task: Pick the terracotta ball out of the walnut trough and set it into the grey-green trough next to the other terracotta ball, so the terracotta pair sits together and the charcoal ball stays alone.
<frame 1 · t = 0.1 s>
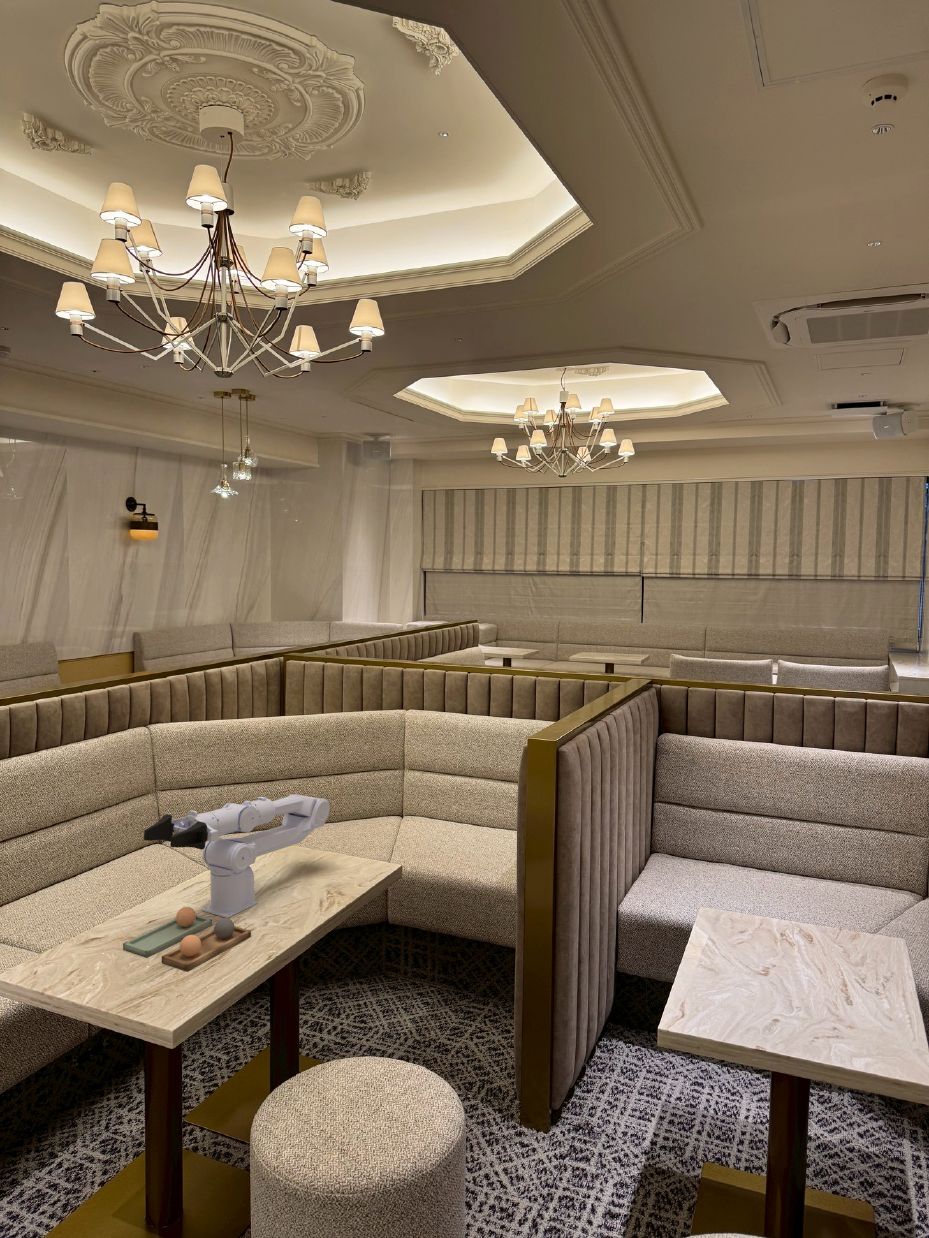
hand: (158, 838, 164), 21 cm above the table, tool horizontal, fingers open, 7 cm apart
trough green: (169, 936, 168), on the table
trough walnut: (207, 948, 162), on the table
terracotta ball b: (185, 916, 171), point 2 cm above the table, touching trough green
charcoal ball: (224, 928, 166), point 2 cm above the table, touching trough walnut
terracotta ball a: (190, 945, 158), point 2 cm above the table, touching trough walnut
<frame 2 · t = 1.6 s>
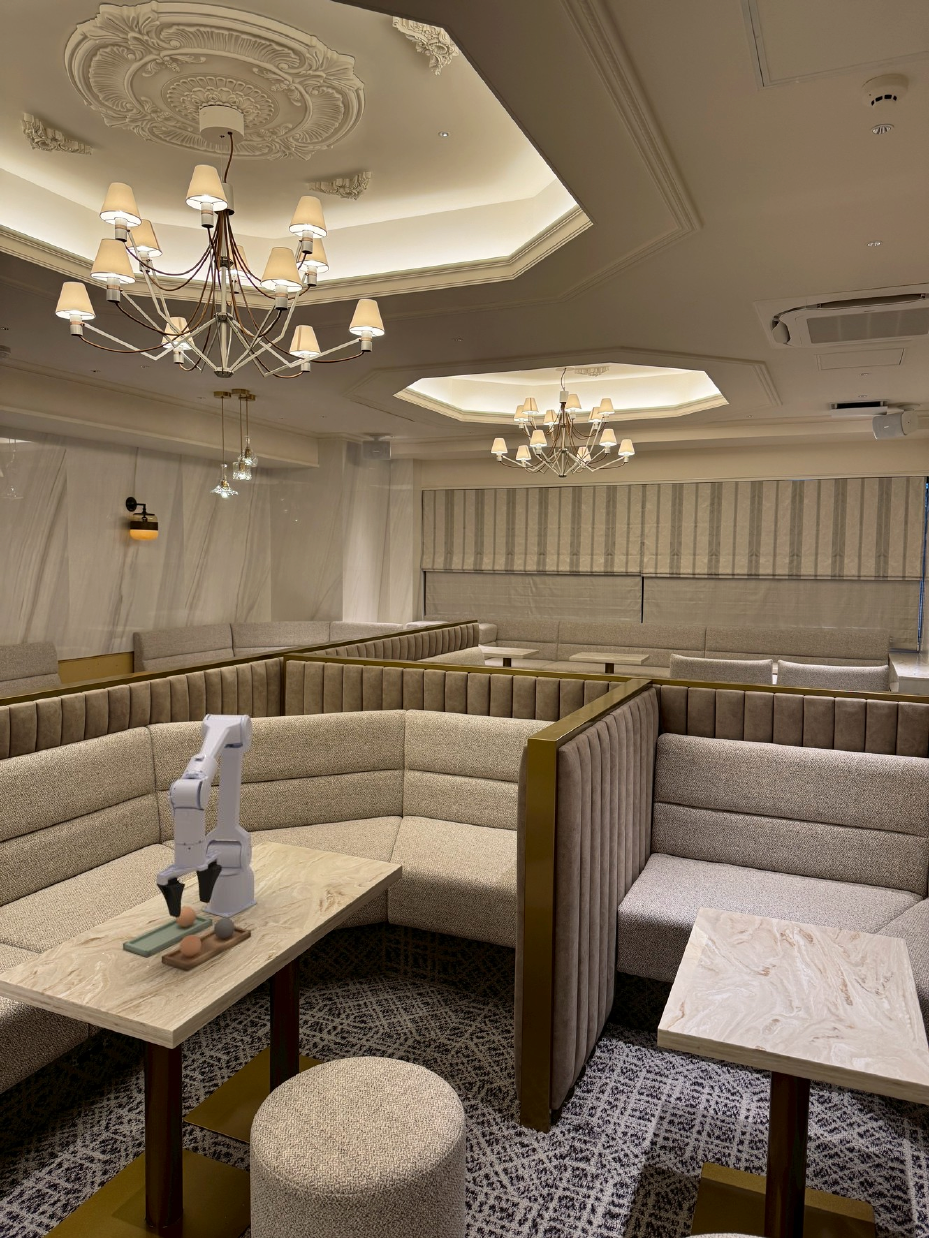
hand: (190, 908, 158), 10 cm above the table, tool pointing down, fingers open, 7 cm apart
nothing on the table moved.
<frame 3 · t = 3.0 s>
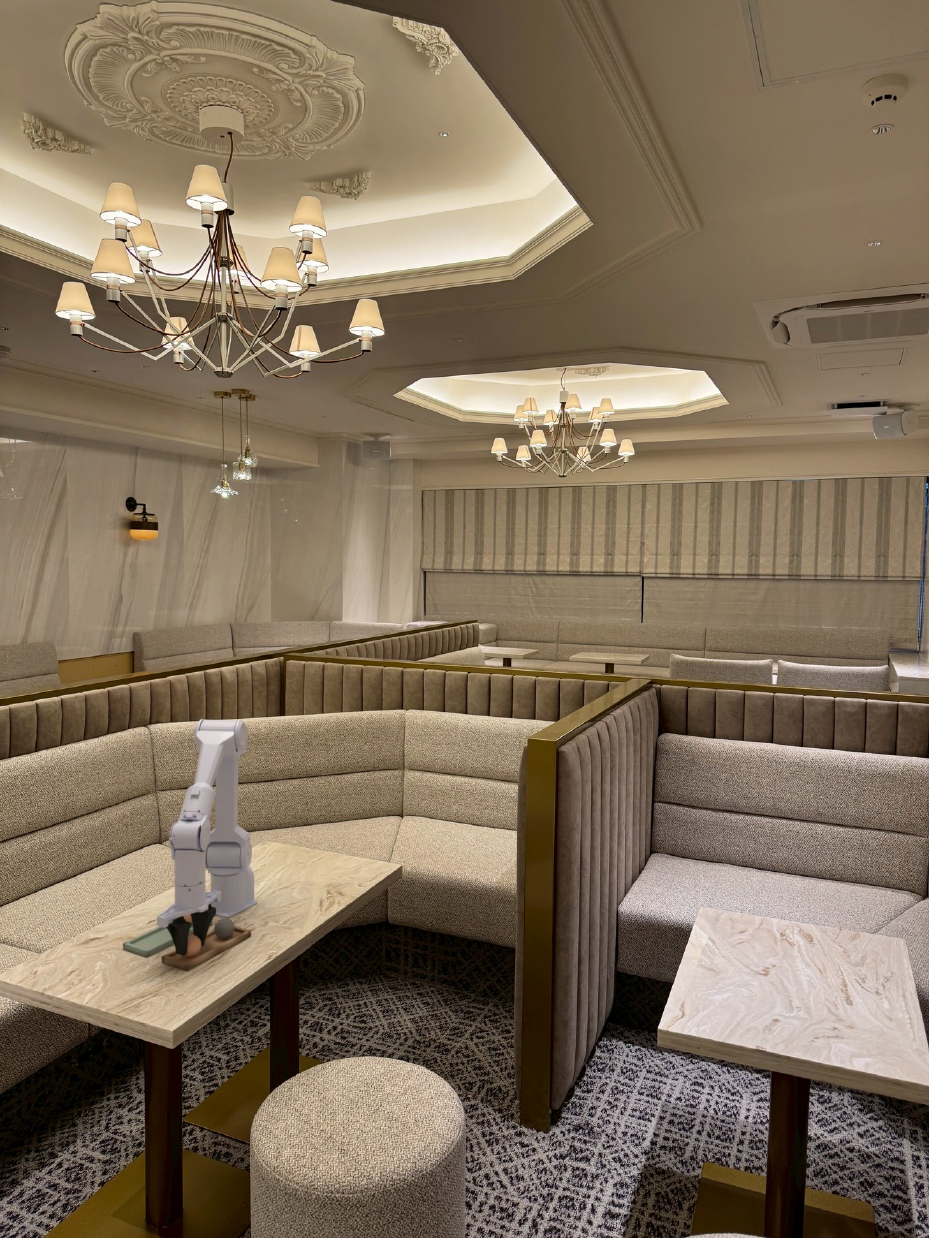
hand: (190, 949, 158), 2 cm above the table, tool pointing down, fingers closed on terracotta ball a, 4 cm apart
terracotta ball a: (190, 945, 158), point 2 cm above the table, touching gripper, trough walnut
everything else where it was.
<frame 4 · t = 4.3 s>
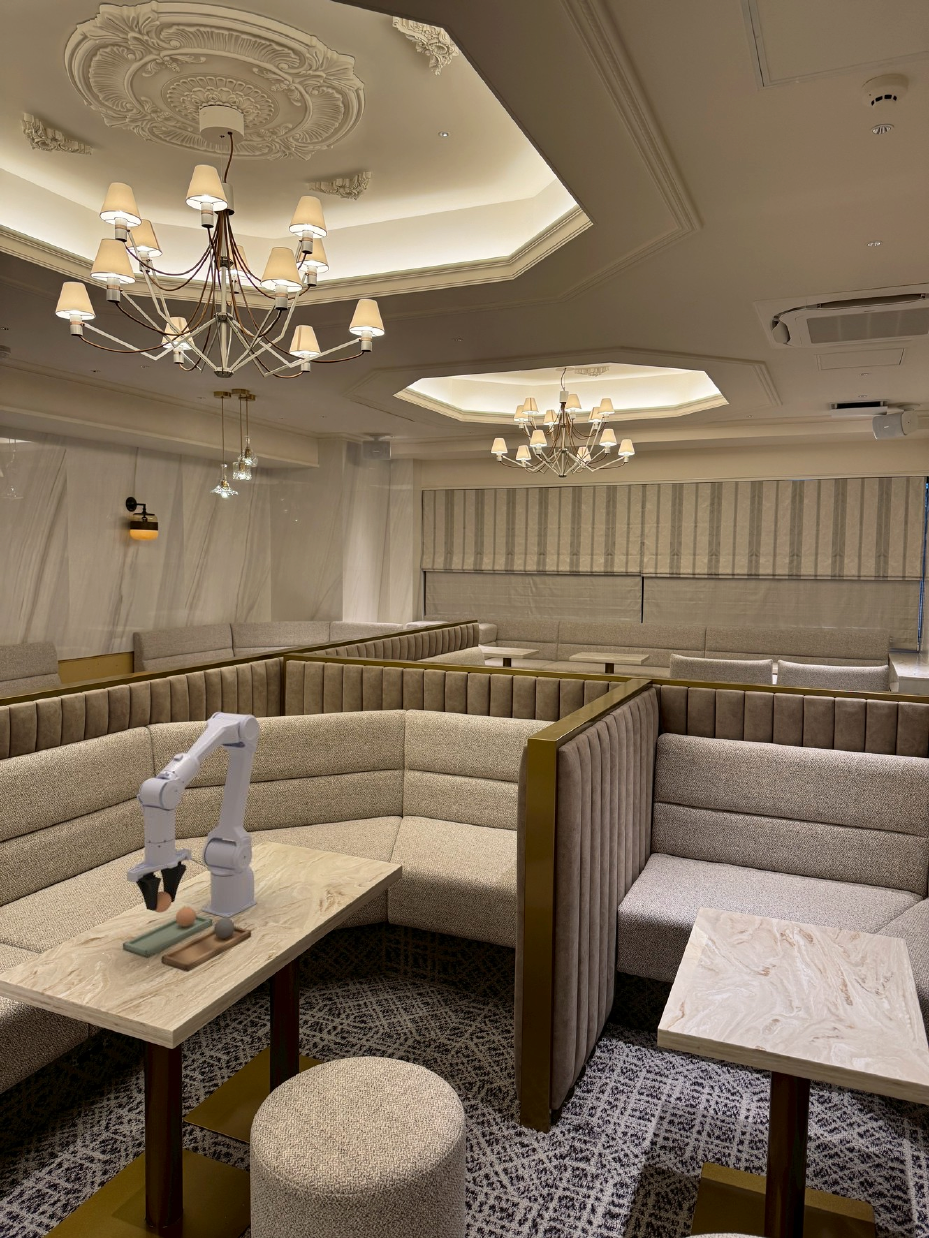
hand: (160, 905, 162), 9 cm above the table, tool pointing down, fingers closed on terracotta ball a, 4 cm apart
terracotta ball a: (160, 901, 162), point 10 cm above the table, touching gripper
everything else where it was.
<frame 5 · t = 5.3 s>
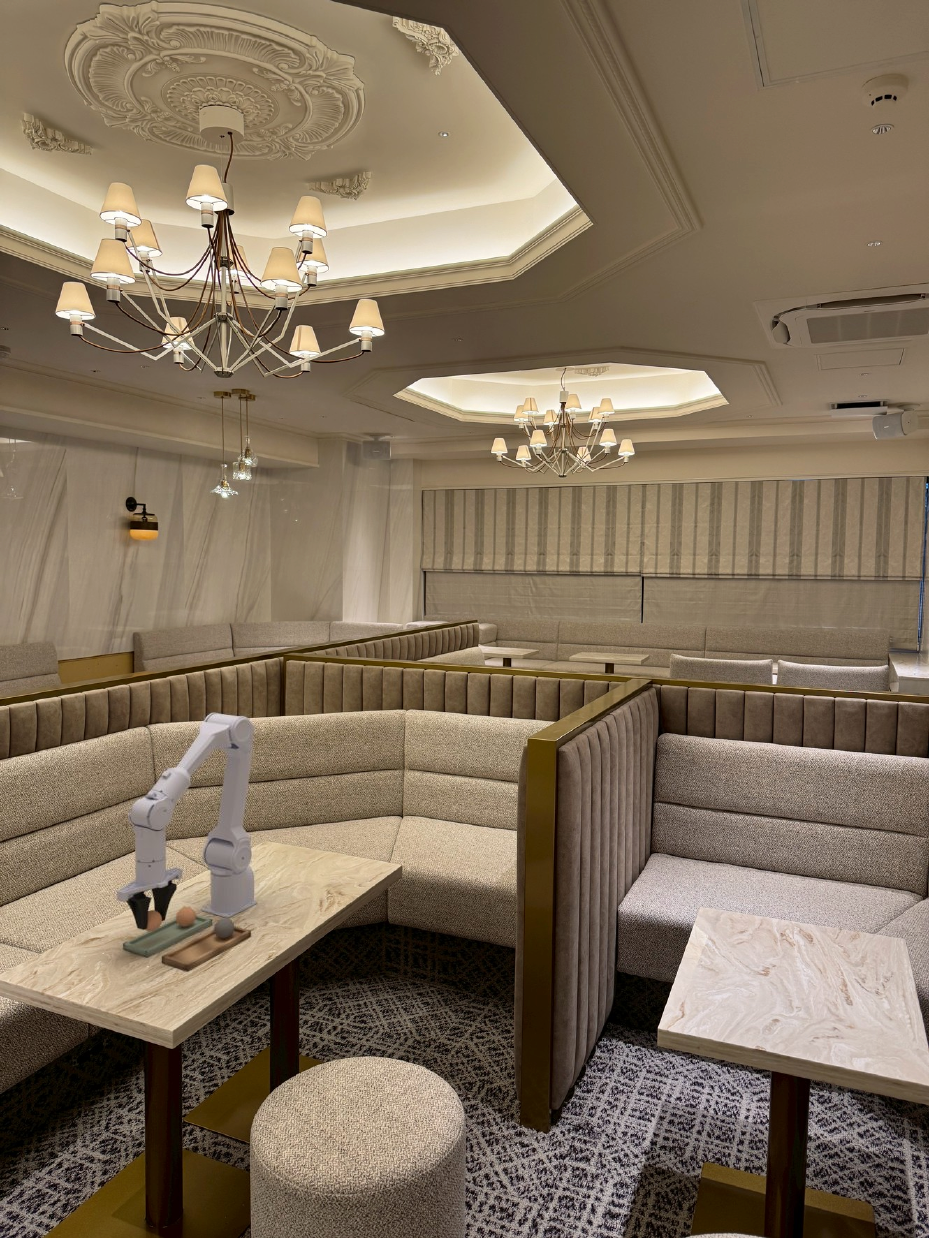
hand: (151, 923, 163), 4 cm above the table, tool pointing down, fingers closed on terracotta ball a, 4 cm apart
terracotta ball a: (151, 920, 163), point 5 cm above the table, touching gripper
everything else where it was.
when the fingers open (3 cm above the table, at t = 6.0 s): terracotta ball a drops 1 cm, resting on trough green.
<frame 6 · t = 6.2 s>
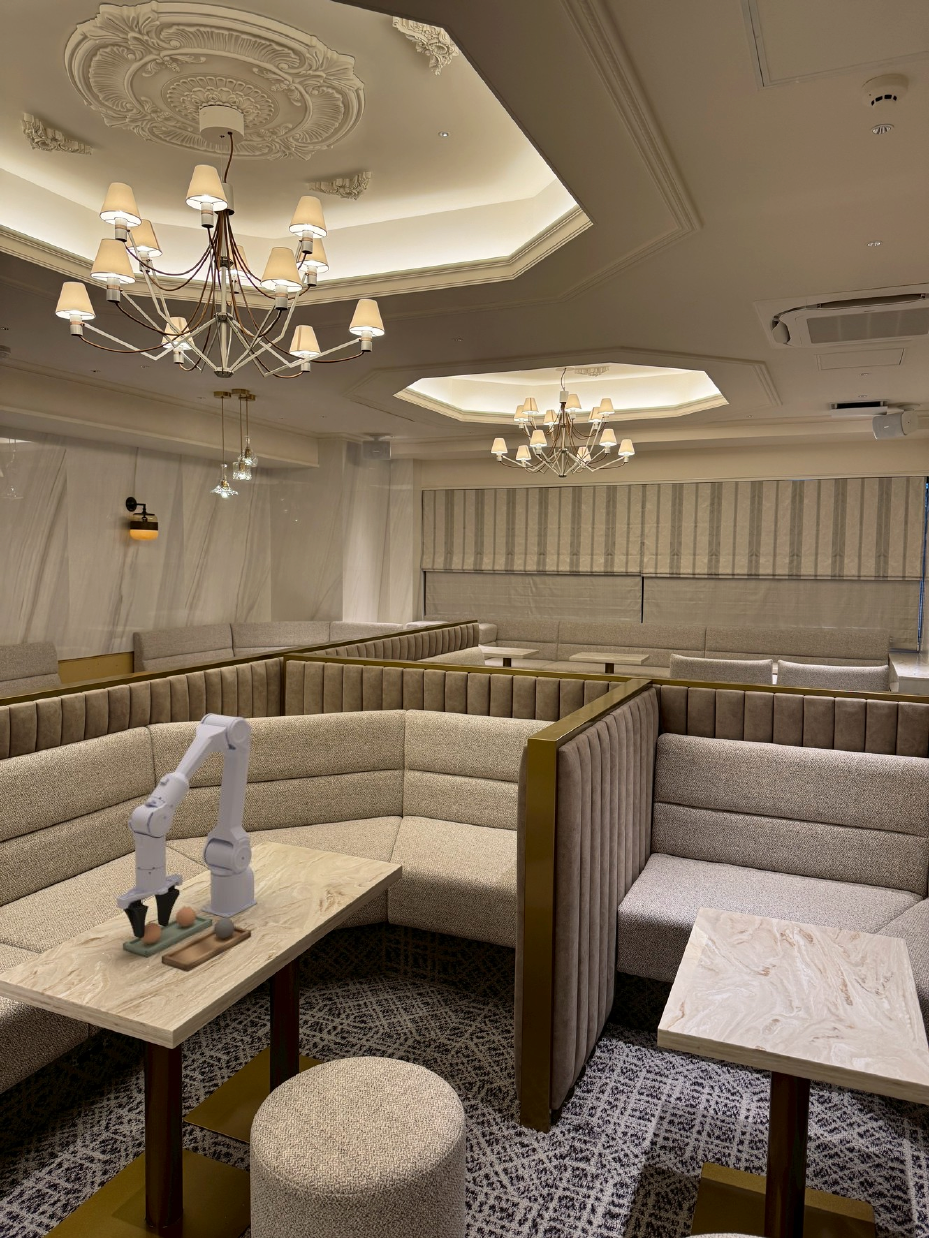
hand: (151, 930, 164), 3 cm above the table, tool pointing down, fingers open, 5 cm apart
terracotta ball a: (150, 933, 163), point 2 cm above the table, touching trough green
everything else where it was.
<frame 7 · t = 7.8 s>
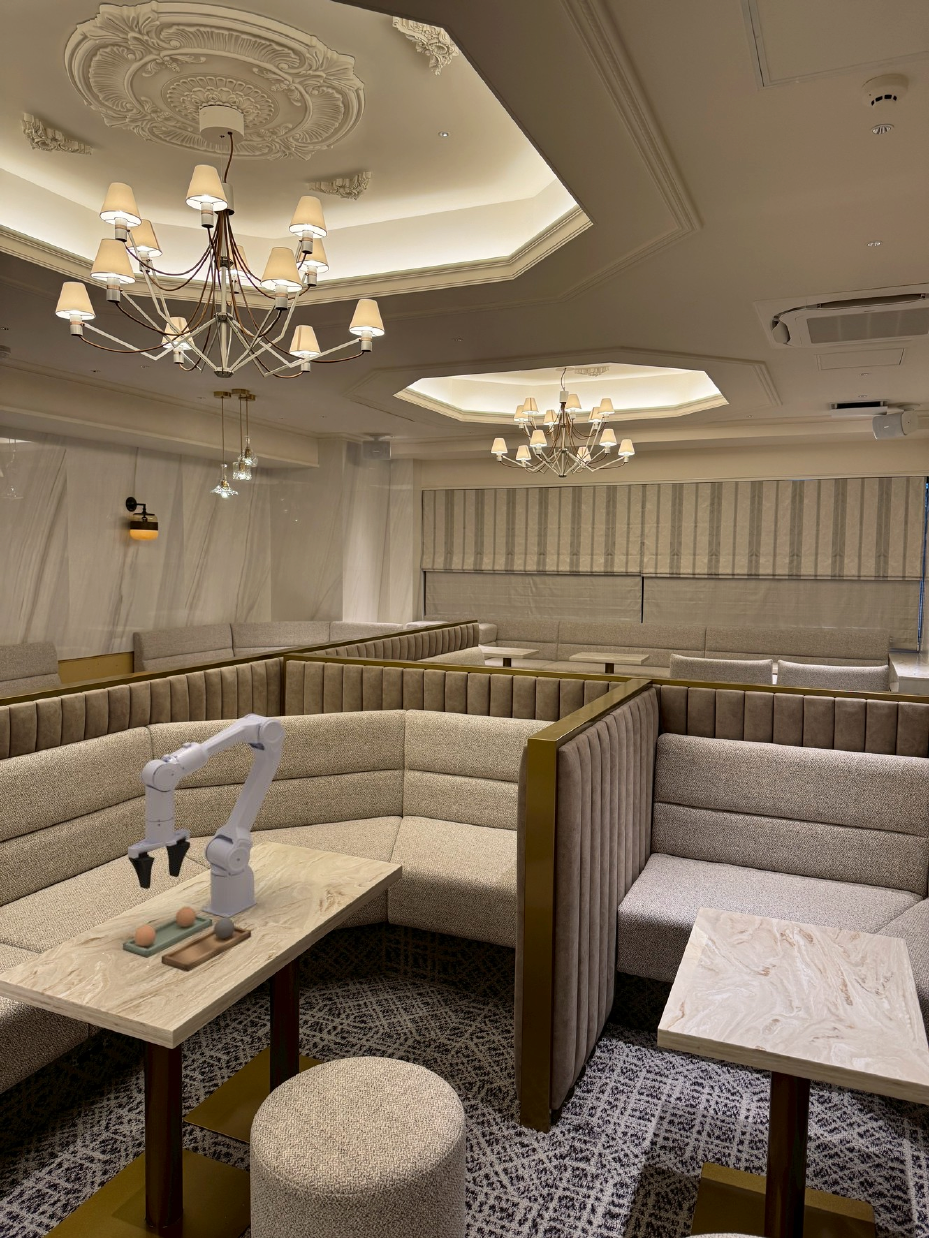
hand: (159, 881, 170), 10 cm above the table, tool pointing down, fingers open, 7 cm apart
terracotta ball a: (145, 936, 162), point 2 cm above the table, tilted 46°, touching trough green
everything else where it was.
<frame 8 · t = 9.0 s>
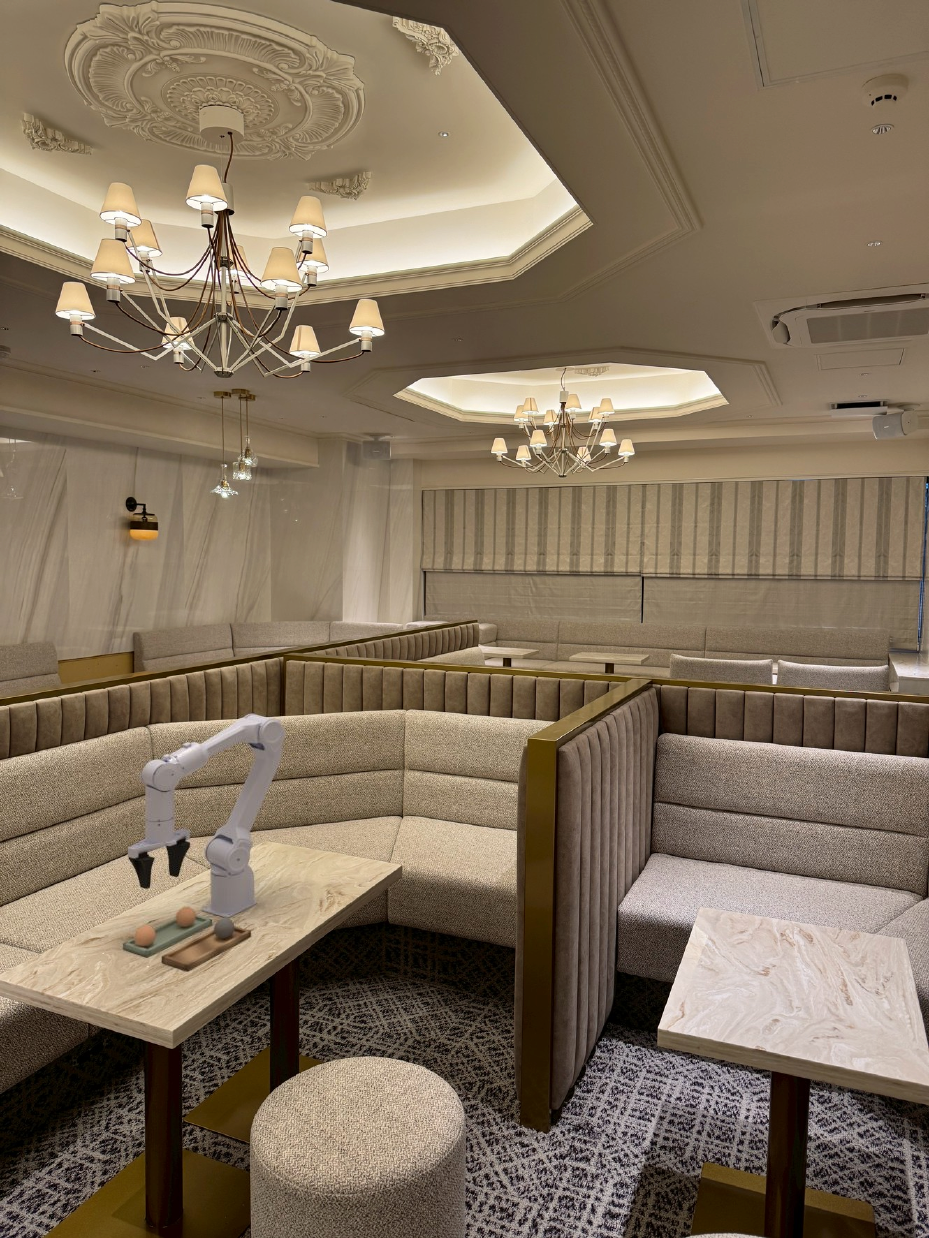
hand: (159, 881, 170), 10 cm above the table, tool pointing down, fingers open, 7 cm apart
nothing on the table moved.
at the end: terracotta ball a inside the target area on the trough green (6.1 cm from its centre), point 2.5 cm above the trough green's base; the gripper is holding nothing; terracotta ball b inside the target area on the trough green (4.5 cm from its centre), point 2.5 cm above the trough green's base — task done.
